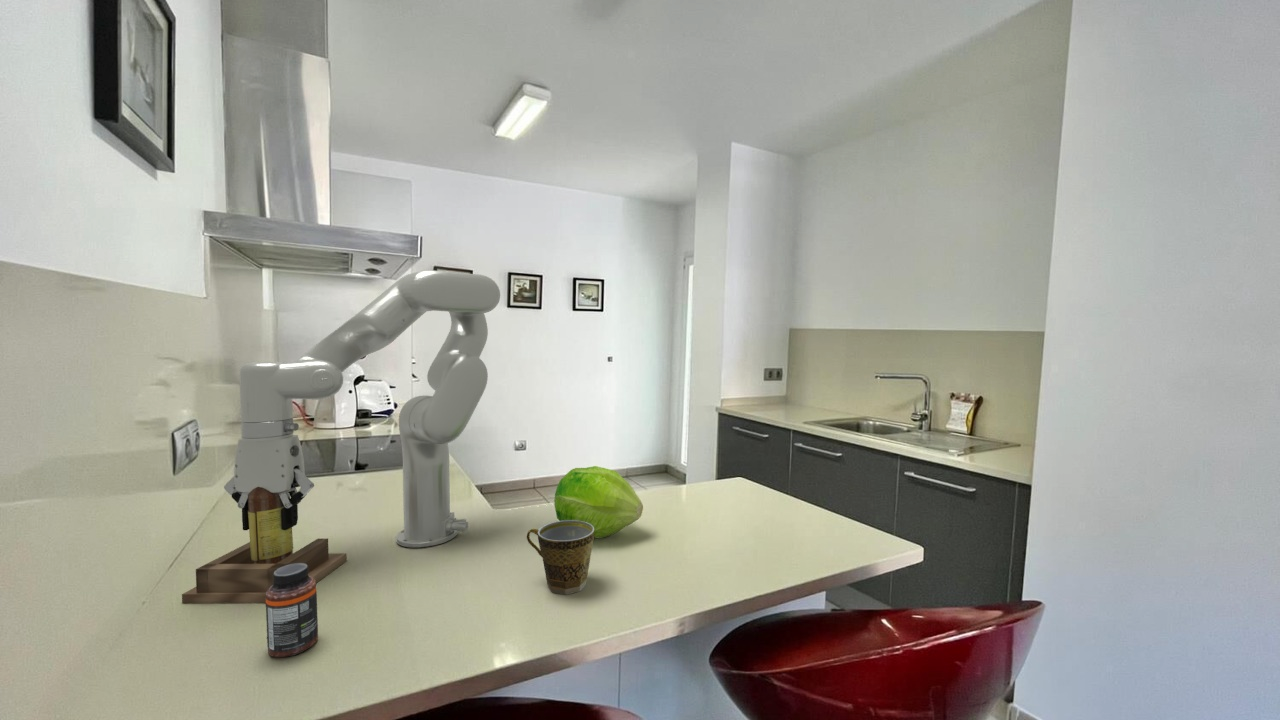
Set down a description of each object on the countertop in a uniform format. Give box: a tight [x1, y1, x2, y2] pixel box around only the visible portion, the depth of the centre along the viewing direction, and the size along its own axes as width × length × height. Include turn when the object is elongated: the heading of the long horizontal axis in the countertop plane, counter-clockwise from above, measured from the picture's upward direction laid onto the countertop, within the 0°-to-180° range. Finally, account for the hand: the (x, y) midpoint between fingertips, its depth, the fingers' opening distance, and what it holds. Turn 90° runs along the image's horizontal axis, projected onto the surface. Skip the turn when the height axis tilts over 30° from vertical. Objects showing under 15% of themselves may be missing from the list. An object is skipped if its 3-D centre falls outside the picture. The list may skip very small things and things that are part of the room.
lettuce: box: [553, 465, 644, 539], centre depth 111 cm, size 17×20×15 cm
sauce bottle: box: [248, 487, 294, 564], centre depth 90 cm, size 6×6×20 cm
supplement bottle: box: [265, 563, 319, 658], centre depth 70 cm, size 6×6×11 cm
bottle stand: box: [181, 538, 348, 604], centre depth 90 cm, size 18×16×6 cm
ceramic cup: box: [526, 520, 595, 596], centre depth 88 cm, size 13×10×10 cm
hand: (270, 526), depth 90 cm, fingers closed on sauce bottle, 6 cm apart
